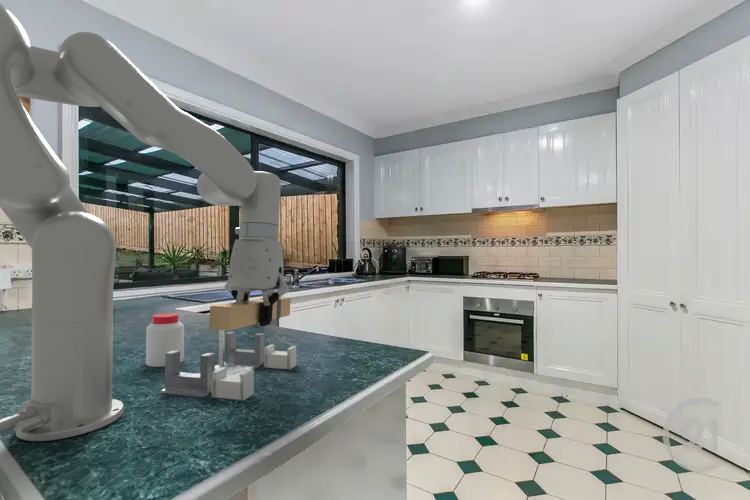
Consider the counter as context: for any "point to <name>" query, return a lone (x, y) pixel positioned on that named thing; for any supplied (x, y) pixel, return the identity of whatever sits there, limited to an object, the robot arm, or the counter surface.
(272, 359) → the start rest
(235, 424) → the counter surface
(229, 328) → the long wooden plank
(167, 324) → the pill bottle
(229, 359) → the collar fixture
